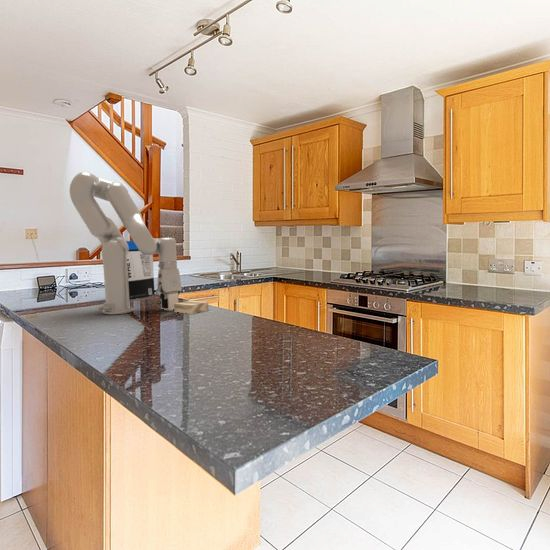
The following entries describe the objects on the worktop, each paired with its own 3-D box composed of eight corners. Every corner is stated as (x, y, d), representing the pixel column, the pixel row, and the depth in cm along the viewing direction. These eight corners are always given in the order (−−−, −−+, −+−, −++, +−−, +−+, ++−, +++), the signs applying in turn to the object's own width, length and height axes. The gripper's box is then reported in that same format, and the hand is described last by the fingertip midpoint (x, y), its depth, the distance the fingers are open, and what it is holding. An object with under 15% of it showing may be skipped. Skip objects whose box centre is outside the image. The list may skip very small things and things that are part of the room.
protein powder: (160, 294, 229) (157, 240, 226) (123, 301, 208) (120, 241, 205) (148, 293, 234) (146, 240, 231) (111, 299, 213) (108, 241, 210)
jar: (170, 310, 179) (169, 292, 178) (161, 309, 181) (160, 292, 181) (178, 308, 183) (178, 291, 182) (170, 307, 186) (169, 290, 185)
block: (191, 315, 169) (191, 305, 169) (174, 312, 174) (174, 303, 174) (208, 311, 177) (208, 301, 177) (191, 309, 183) (191, 300, 182)
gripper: (159, 267, 171) (161, 310, 173) (188, 264, 186) (189, 304, 188) (146, 267, 175) (149, 309, 177) (175, 264, 190) (177, 303, 191)
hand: (169, 306), depth 182 cm, fingers closed on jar, 5 cm apart
